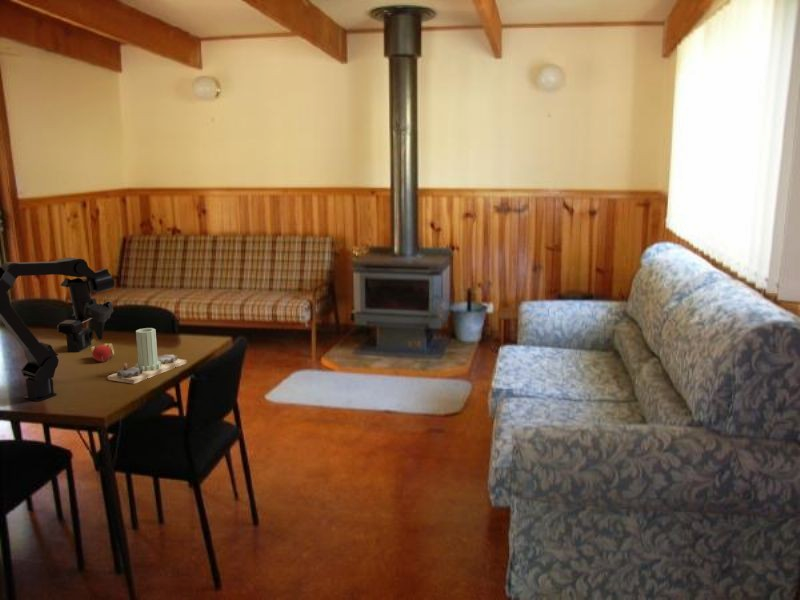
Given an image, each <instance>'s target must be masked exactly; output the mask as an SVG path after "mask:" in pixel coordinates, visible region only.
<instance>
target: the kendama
mask: <svg viewBox="0 0 800 600" xmlns="http://www.w3.org/2000/svg"><path fill="white" fill-rule="evenodd" d="M90 350H91V355H92V359H93V360H95V361H97V362H99V363H104V362H107V361H108V360H109V359H110V358H111V357H112V356H114V355H115V349H114V346H113V344H112V343H108V342H107V343H103V344H100V345H99V344H98V345H97V346H96V345H93V346H92V345H91V346H90Z"/></svg>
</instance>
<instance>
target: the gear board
mask: <svg viewBox="0 0 800 600" xmlns="http://www.w3.org/2000/svg"><path fill="white" fill-rule="evenodd" d="M157 358H158V361H160V362H161V368H159V369H157V370H150V371H147V370H145V371H142V369H139V367H136V368H135V365H134V366H132V367H131V366H128V364H127V362H123V364H122V367H123V368H120V369H119V370H117V372H115V373H112V374H110V375H107V380H108V381H115V382H121V383H127V384H133V385H134V384H138V383H140V382H141V381H145V380H147V378H148V379H150V378H152V377H154V376H158V375H161V374H162V373H165V372H168V371H170V370H173V369H175V367H176V368H177V367H181V366H182V365H183V366H184V365H186V364H188V363H187V359H183V358H178V355H175V353H174V354H162V355H157Z"/></svg>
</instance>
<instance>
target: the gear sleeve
mask: <svg viewBox="0 0 800 600" xmlns="http://www.w3.org/2000/svg"><path fill="white" fill-rule="evenodd" d="M156 330H157V329H155V328H153V327H145V328H139V329H136V330H135V335H136V336H135V337H136V349H137V350H136V351H137V362H136V363H135V364H134V366H135V368H136V367H139V369H142V371H145V370H147V371H150V370H157V369H159V368H161V362H160V361H158V358H157V356H158V347H157V346H158V345H157V344H158V343H157V335H156V334H157V332H156Z"/></svg>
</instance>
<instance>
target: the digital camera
mask: <svg viewBox="0 0 800 600" xmlns="http://www.w3.org/2000/svg"><path fill="white" fill-rule="evenodd" d="M82 329H84V331H83V332H82V334H81V336H82V342H83V349H84V350H85V349H87V348H89V347H91V346H92V341H93V339H94V332H93V331H94V330H92V329H91V328H90V327H82ZM65 337H66V346H67V347H66V348H67V352H68V353H80V352H82V351H81V350H79V349H78V347H77V346H76V345H75V344H74V343H73V342H72V340H71V339H70V338H69V337H68V336H67V335H66V334H65ZM90 345H91V346H90ZM88 346H89V347H88Z"/></svg>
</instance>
